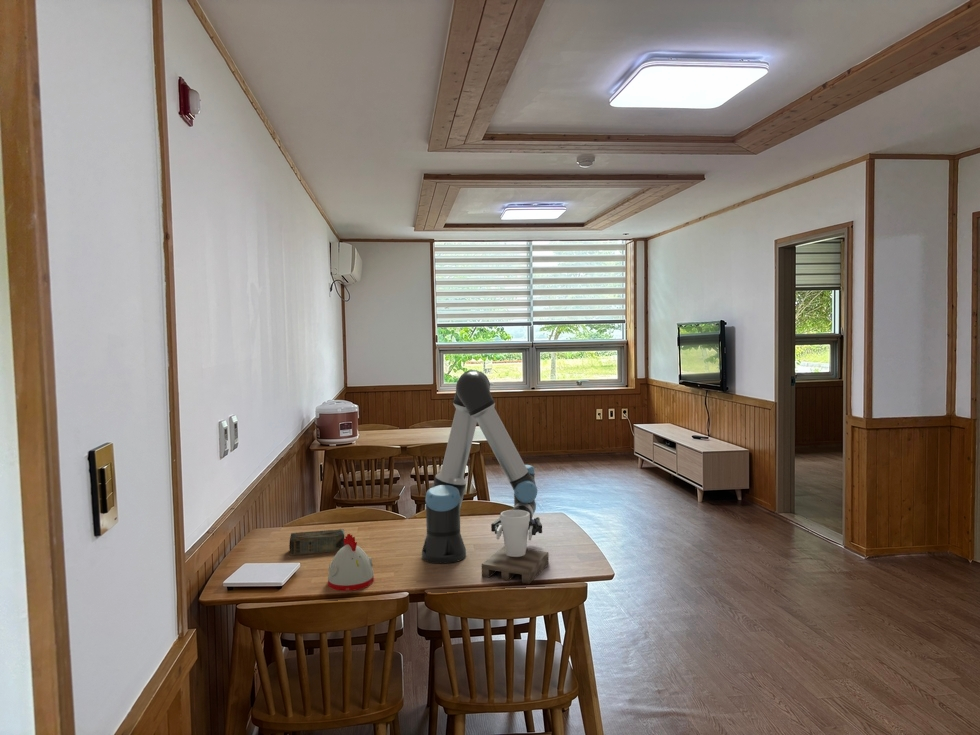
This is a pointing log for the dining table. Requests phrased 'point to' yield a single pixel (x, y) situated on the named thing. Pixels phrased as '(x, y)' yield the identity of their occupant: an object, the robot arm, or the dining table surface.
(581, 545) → the dining table surface
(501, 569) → the miniature wooden pallet
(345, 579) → the kitchen timer
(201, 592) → the dining table surface
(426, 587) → the dining table surface
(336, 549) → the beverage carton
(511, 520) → the foam cup
